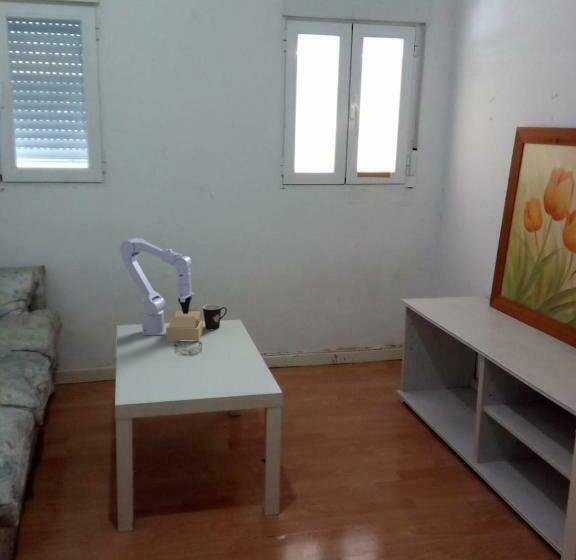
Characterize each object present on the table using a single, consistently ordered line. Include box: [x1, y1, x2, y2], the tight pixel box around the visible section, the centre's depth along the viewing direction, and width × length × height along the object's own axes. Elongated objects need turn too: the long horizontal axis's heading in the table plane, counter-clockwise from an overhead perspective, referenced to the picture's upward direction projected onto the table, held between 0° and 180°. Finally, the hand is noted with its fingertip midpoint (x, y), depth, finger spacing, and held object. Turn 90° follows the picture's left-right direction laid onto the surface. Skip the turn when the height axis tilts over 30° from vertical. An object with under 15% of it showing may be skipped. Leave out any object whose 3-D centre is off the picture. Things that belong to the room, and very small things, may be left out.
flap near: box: [169, 316, 196, 328], centre depth 276 cm, size 5×11×1 cm
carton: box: [165, 319, 204, 343], centre depth 281 cm, size 14×12×6 cm
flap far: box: [174, 310, 201, 320], centre depth 287 cm, size 5×11×1 cm
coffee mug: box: [202, 303, 228, 331], centre depth 294 cm, size 12×9×10 cm
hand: (185, 313), depth 281 cm, fingers closed
